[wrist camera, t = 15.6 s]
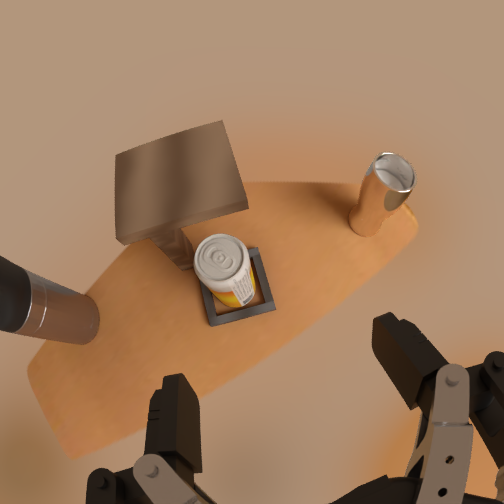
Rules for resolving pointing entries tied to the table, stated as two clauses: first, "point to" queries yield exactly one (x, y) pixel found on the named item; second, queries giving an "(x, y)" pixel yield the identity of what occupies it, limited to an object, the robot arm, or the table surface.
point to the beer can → (225, 269)
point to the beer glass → (382, 192)
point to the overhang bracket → (182, 199)
